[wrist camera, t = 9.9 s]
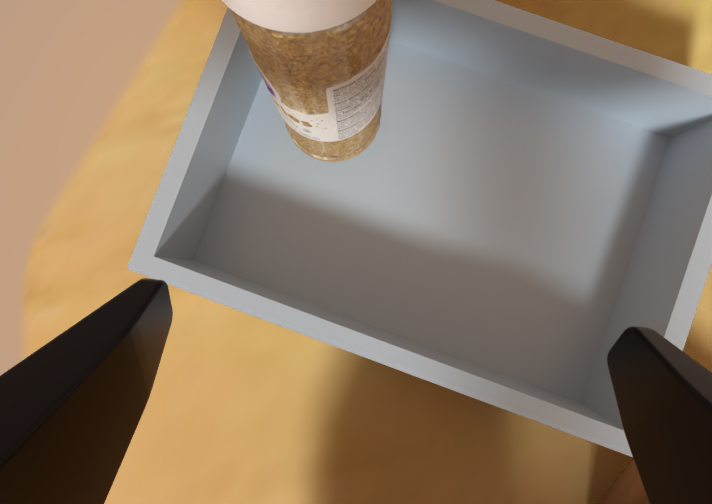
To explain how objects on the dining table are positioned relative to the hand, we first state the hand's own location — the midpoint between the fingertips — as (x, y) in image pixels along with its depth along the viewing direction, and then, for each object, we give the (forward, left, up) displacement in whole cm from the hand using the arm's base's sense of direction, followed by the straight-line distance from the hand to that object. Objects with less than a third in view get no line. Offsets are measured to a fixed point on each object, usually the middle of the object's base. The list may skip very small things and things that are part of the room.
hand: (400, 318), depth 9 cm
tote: (+5, -1, -12) cm, 13 cm away
